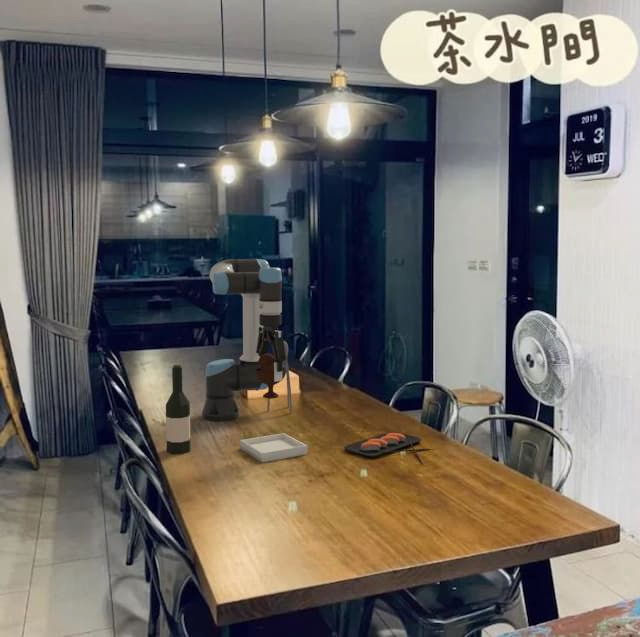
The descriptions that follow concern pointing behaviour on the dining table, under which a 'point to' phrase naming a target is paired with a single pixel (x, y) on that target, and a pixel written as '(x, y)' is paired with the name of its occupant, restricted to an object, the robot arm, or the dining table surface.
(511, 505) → the dining table surface
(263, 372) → the ice cream bowl
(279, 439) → the serving tray
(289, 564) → the dining table surface
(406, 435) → the sushi plate
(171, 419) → the wine bottle
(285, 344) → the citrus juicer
